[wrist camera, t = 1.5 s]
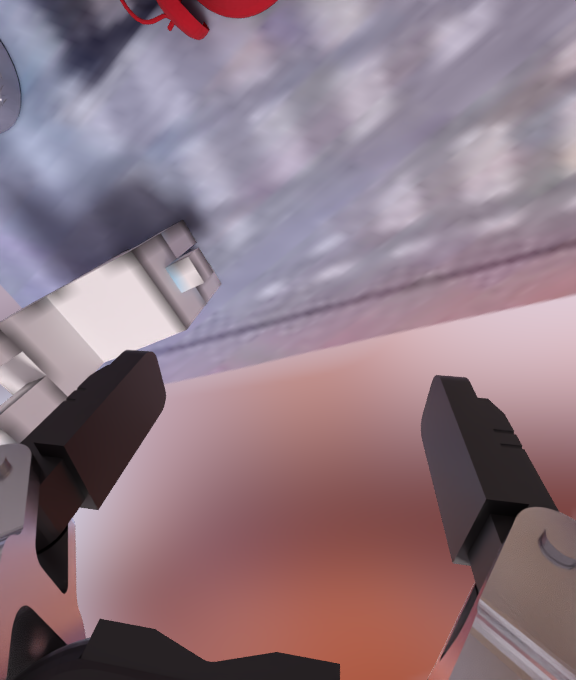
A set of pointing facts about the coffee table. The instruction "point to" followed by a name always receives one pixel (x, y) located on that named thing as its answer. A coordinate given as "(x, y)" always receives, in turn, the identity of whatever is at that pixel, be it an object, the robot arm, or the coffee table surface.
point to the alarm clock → (228, 3)
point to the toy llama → (98, 324)
